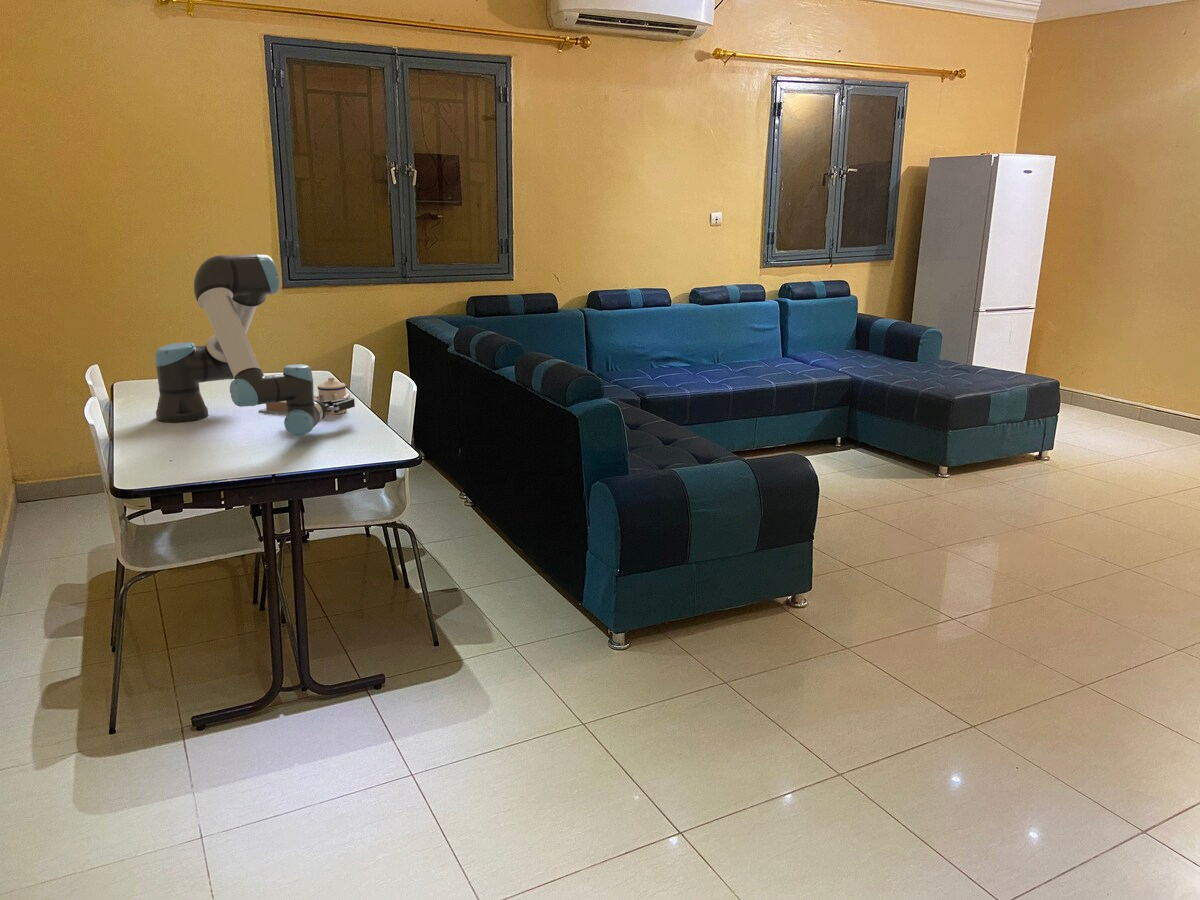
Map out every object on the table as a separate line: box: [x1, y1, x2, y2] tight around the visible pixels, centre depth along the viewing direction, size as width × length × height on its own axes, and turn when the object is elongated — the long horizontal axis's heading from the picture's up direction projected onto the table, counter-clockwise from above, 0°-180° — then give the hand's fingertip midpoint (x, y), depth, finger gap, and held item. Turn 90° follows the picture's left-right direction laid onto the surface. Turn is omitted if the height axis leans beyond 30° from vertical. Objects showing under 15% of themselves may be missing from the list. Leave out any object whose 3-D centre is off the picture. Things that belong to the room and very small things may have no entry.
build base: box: [258, 394, 319, 415], centre depth 294 cm, size 16×16×4 cm
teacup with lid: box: [316, 376, 348, 415], centre depth 288 cm, size 12×9×12 cm
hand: (327, 397), depth 279 cm, fingers open, 13 cm apart
